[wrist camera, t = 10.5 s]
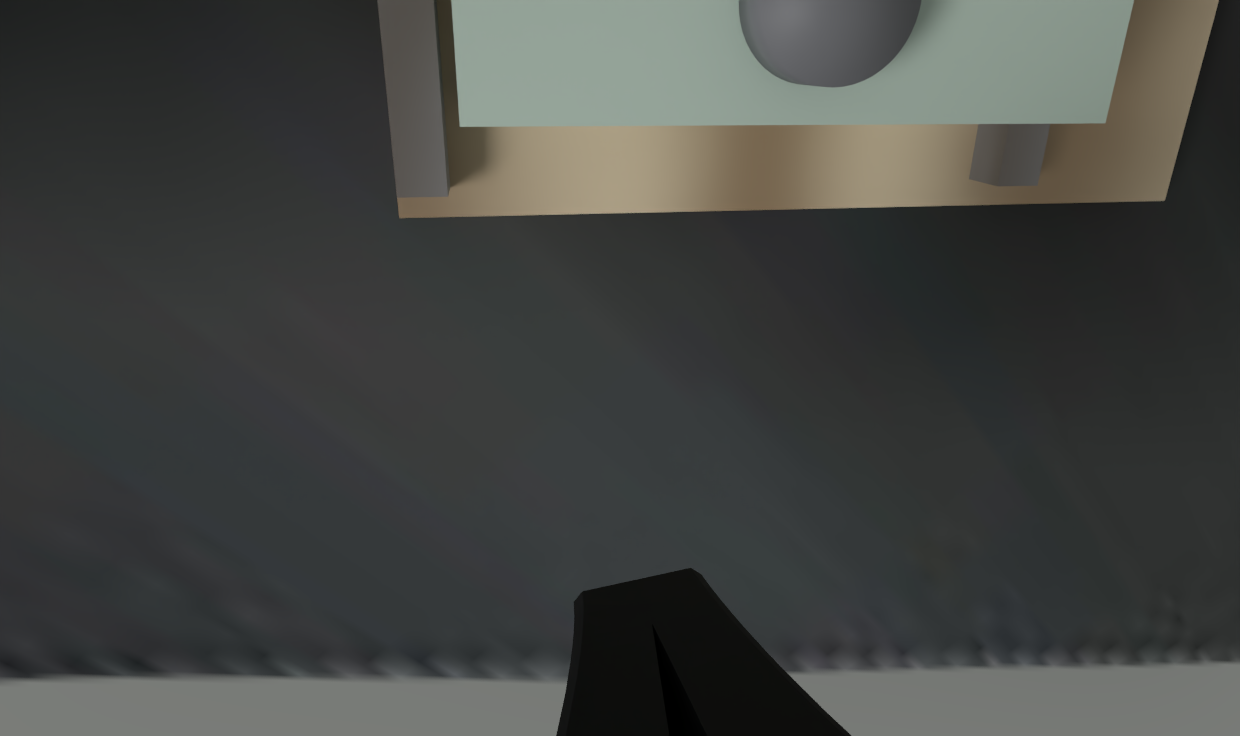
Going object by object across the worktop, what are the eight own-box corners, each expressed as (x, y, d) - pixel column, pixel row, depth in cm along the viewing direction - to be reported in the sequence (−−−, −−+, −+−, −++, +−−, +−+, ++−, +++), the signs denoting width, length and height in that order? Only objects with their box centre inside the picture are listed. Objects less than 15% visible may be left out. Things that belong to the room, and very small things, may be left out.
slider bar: (466, 108, 13) (457, 133, 9) (452, -101, 12) (435, -179, 8) (965, 107, 14) (1149, 128, 10) (996, -80, 13) (1217, -138, 9)
